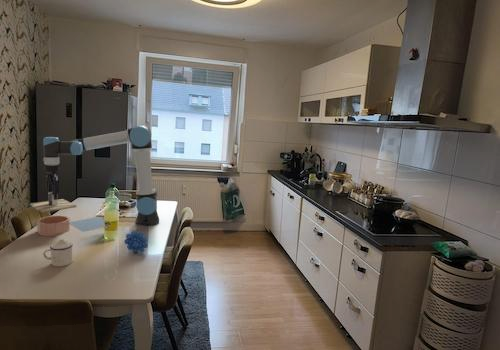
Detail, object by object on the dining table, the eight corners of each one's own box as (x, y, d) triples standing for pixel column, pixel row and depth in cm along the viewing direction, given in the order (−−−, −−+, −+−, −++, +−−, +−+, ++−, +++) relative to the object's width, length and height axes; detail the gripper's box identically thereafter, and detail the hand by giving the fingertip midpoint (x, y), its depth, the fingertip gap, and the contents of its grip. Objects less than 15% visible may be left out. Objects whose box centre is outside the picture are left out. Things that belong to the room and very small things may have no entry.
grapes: (123, 256, 167) (123, 234, 165) (124, 251, 173) (124, 229, 171) (147, 255, 170) (147, 233, 168) (147, 250, 176) (148, 229, 174)
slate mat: (118, 224, 212) (118, 224, 212) (83, 232, 195) (83, 231, 195) (101, 216, 226) (101, 216, 226) (67, 223, 209) (67, 222, 209)
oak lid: (76, 207, 194) (75, 195, 192) (42, 212, 180) (41, 199, 179) (63, 200, 205) (62, 189, 204) (30, 205, 191) (29, 193, 190)
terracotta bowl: (74, 231, 196) (74, 220, 195) (44, 238, 184) (43, 226, 182) (62, 224, 206) (62, 214, 205) (33, 230, 194) (33, 219, 192)
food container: (134, 205, 259) (134, 192, 257) (130, 207, 253) (130, 194, 251) (119, 203, 260) (119, 191, 258) (115, 205, 254) (115, 193, 252)
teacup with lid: (73, 257, 162) (73, 235, 160) (72, 265, 154) (71, 242, 152) (45, 260, 157) (44, 237, 155) (42, 269, 149) (40, 244, 147)
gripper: (38, 162, 190) (40, 201, 194) (50, 166, 180) (52, 208, 184) (52, 161, 196) (54, 199, 200) (65, 166, 186) (66, 206, 190)
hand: (53, 203), depth 192 cm, fingers closed on oak lid, 4 cm apart
